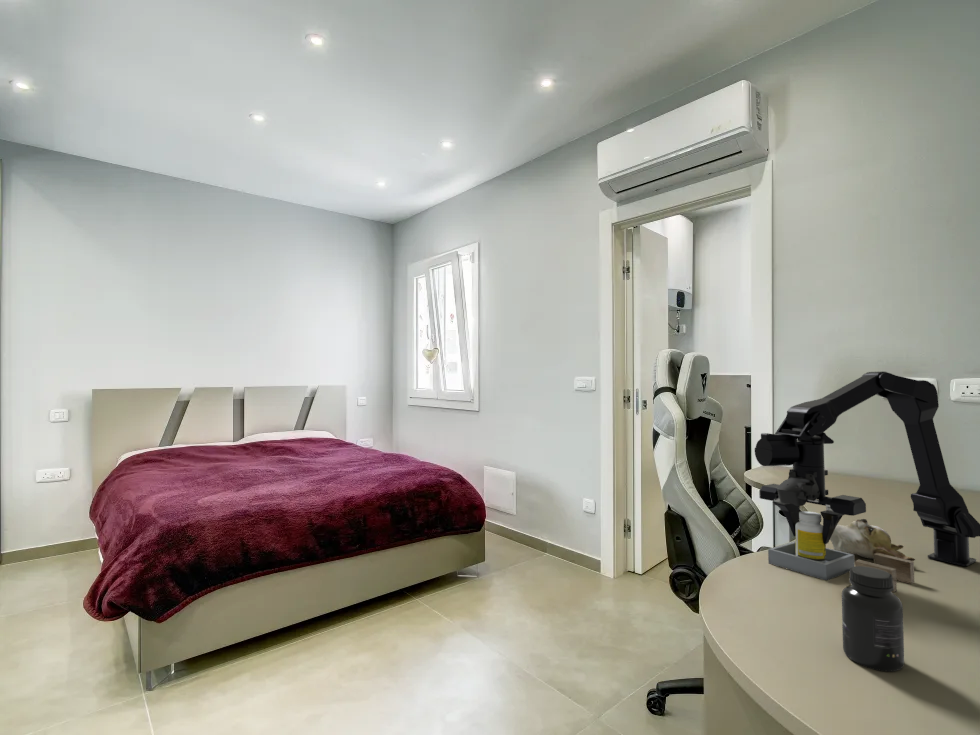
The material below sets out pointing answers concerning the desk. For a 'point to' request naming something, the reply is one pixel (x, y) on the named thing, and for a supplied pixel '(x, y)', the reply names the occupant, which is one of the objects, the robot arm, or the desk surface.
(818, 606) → the desk surface
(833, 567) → the tray
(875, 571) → the supplement bottle
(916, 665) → the desk surface
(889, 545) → the ceramic sculpture
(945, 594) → the desk surface
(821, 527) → the supplement bottle
